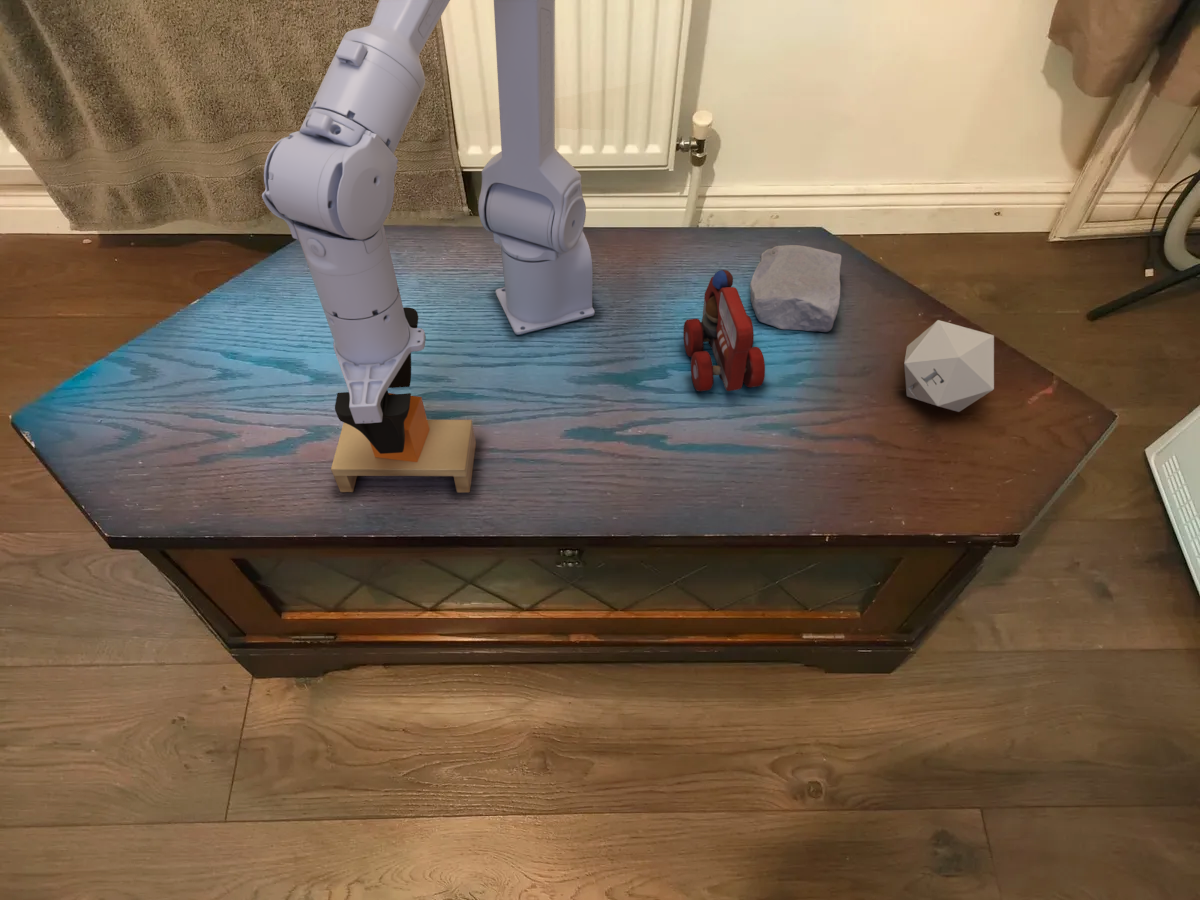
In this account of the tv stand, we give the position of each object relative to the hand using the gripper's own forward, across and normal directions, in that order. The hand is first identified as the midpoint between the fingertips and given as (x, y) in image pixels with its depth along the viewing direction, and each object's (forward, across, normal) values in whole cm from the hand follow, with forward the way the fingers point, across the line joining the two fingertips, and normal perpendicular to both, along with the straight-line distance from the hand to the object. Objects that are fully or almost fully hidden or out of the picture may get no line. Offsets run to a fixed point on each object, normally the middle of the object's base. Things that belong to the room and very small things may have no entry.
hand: (395, 416), depth 68 cm
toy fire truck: (+8, +12, -32) cm, 35 cm away
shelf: (+7, 0, 0) cm, 7 cm away
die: (+8, +6, -54) cm, 55 cm away
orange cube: (+4, 0, 0) cm, 4 cm away
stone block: (+8, +22, -42) cm, 48 cm away
